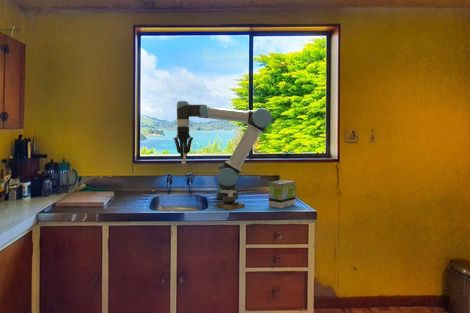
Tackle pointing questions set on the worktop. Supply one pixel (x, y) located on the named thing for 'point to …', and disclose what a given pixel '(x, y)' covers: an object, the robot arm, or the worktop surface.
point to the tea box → (282, 193)
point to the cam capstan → (228, 198)
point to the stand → (230, 205)
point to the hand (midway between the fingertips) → (183, 163)
